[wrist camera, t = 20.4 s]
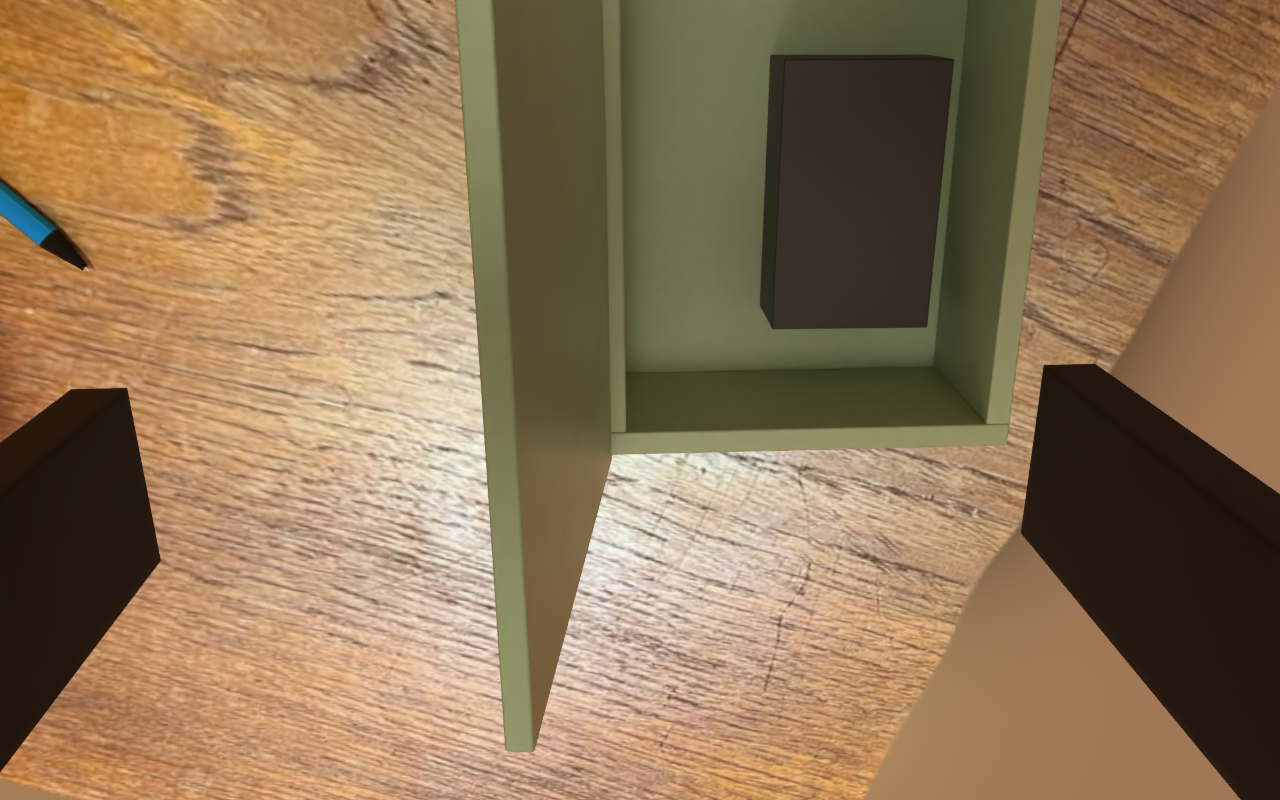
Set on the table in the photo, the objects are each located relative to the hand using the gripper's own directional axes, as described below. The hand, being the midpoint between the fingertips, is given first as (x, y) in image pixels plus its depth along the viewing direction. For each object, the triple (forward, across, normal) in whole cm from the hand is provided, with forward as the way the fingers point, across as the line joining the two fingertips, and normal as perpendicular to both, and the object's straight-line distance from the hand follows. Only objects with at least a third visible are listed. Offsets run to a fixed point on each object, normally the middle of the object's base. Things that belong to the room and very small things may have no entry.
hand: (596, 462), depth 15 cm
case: (+25, +7, 0) cm, 26 cm away
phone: (+24, +9, 0) cm, 25 cm away
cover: (+10, 0, 0) cm, 10 cm away
